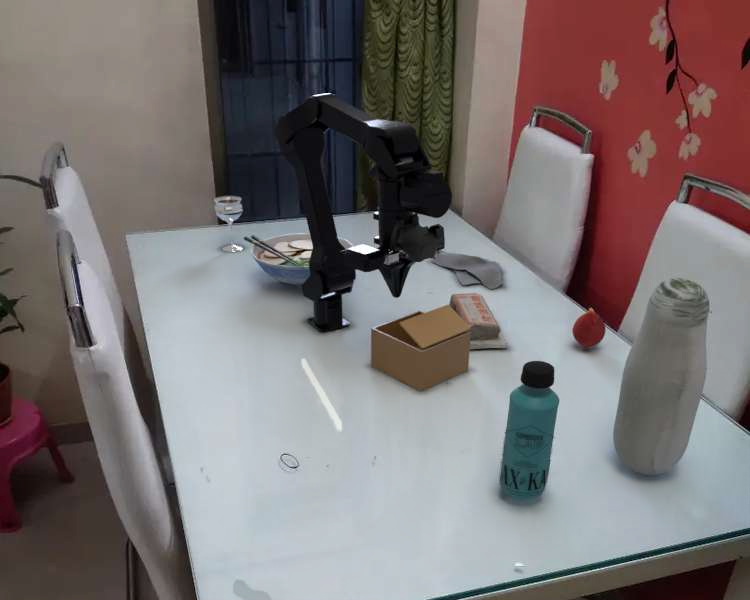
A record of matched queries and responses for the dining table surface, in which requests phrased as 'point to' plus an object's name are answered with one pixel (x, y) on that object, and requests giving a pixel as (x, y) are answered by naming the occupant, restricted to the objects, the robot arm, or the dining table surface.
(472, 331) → the packaged product
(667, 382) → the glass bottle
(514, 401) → the beverage bottle
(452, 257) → the cloth
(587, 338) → the onion
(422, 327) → the flap
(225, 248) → the wineglass
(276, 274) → the ramen bowl
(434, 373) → the carton
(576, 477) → the dining table surface
